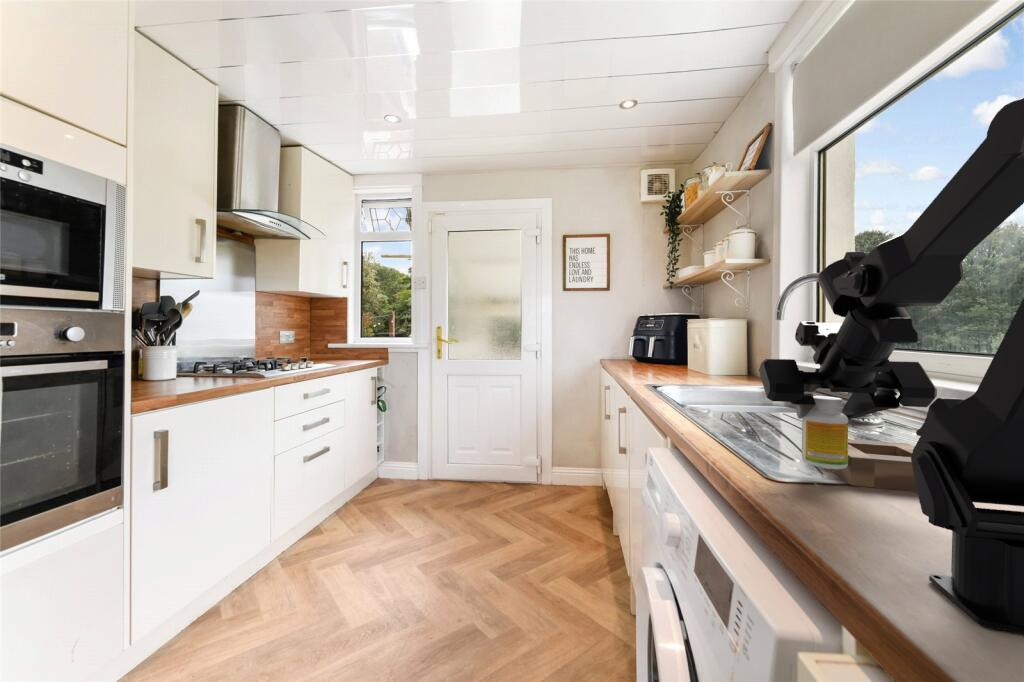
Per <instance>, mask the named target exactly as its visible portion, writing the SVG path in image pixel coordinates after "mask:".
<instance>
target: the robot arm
mask: <svg viewBox="0 0 1024 682" xmlns="http://www.w3.org/2000/svg"><path fill="white" fill-rule="evenodd" d="M1023 204H1024V97H1022V98H1020V99H1017V100H1016V99H1015V100H1013V101H1011V102H1009V103H1007V104H1005V105H1004V106H1003V107H1002V108H1000V109H999V110H998V111H997V112H996V114H995V115H994V117H993V118H992V120H991V121H990V124H989V126H988V129H987V131H986V137H985V138H984V140H983V141H982V142H981V143H980V144H979V146H978V147H977V148H976V149H975V151H974V152H973V153H972V154H971V155H970V157H968V159H967V160H965V162H964V163H963V165H962V166H961V167H960V168H959V169H958V171H956V173H955V174H954V175H953V177H952V178H951V179H950V180H949V181H948V182H947V183H946V185H945V186H944V187H943V188H942V189H941V190H940V192H939V193H938V194H937V195H936V197H934V199H933V200H932V201H931V202H930V204H928V206H927V207H926V208H925V209H924V210H923V212H922V213H921V215H919V216H918V218H917V219H916V220H915V221H914V222H913V223H912V225H911V226H910V227H909V228H908V229H907V230H906V231H905V232H903V233H901V234H899V235H897V236H895V237H892V238H889V239H888V240H885V241H883V242H881V243H879V244H878V245H876V246H875V247H874V248H873V249H872V250H871V251H870V252H868V254H866V252H865V251H846V252H845V254H844V257H843V258H842V259H841V258H840V259H839V260H836V261H833V262H832V263H830V264H828V265H827V266H826V267H825V268H824V269H823V270H821V271H820V272H819V275H818V278H817V281H818V285H819V286H820V288H821V290H822V292H823V295H824V297H825V298H826V300H827V303H828V305H829V307H830V309H831V310H832V313H833V314H834V315H836V316H838V317H841V318H844V319H843V321H842V322H815V321H813V320H809V321H808V320H801V321H799V323H798V326H797V327H796V329H795V335H794V338H795V341H796V342H797V343H798V345H800V346H801V347H811V348H812V350H813V351H814V354H813V356H812V359H813V361H814V364H815V365H819V368H815V369H814V371H804V370H801V369H799V366H798V364H797V361H796V359H793V358H790V359H789V358H764V360H763V361H762V362H760V366H759V368H758V371H759V375H760V378H761V382H762V386H763V390H764V392H765V396H766V397H765V398H767V399H768V400H769V401H771V402H784V403H785V402H786V403H787V402H788V403H790V404H792V405H793V406H795V409H796V410H795V411H796V412H795V413H796V416H797V418H798V419H800V420H802V418H803V417H805V416H806V415H807V414H808V413H809V411H810V410H811V409H812V408H813V407H814V406H815V405H816V403H815V400H814V398H813V396H814V393H815V392H816V391H817V390H818V391H830V392H831V393H851V394H850V397H849V398H848V400H846V402H845V404H844V406H842V409H841V411H840V412H841V413H843V414H844V415H846V416H847V418H848V421H850V420H851V421H852V420H853V419H857V418H860V417H864V416H867V415H871V414H874V413H879V412H883V411H887V410H897V409H898V408H900V406H902V407H909V408H913V407H915V408H928V411H927V413H926V417H925V419H924V422H923V424H922V425H921V427H920V428H918V429H917V430H916V432H915V434H916V436H919V438H918V440H917V441H916V445H914V446H915V447H914V449H913V452H912V456H911V461H912V466H913V472H914V477H915V482H916V487H917V497H918V502H919V504H920V508H921V509H920V510H921V512H922V514H923V515H925V516H927V517H928V523H929V524H931V525H932V526H935V527H938V528H941V529H945V530H948V531H949V530H950V531H952V533H951V534H952V535H951V536H952V537H951V565H950V566H951V567H950V568H951V569H950V572H951V576H950V575H941V574H936V573H929V574H928V581H929V582H931V584H933V585H934V586H935V587H936V588H938V589H939V591H941V592H942V593H943V594H944V595H946V597H948V598H949V599H950V600H951V601H952V602H953V603H954V604H956V605H957V606H958V607H959V608H960V609H961V610H963V612H964V613H966V614H967V615H968V616H969V617H971V619H972V620H974V621H975V622H977V624H979V625H981V626H983V627H985V628H990V629H995V630H1002V631H1006V632H1013V633H1018V634H1019V633H1020V634H1024V511H1018V510H1008V509H996V508H995V509H994V508H985V507H984V508H982V507H976V506H975V503H979V504H989V505H1000V506H1001V505H1003V506H1013V507H1014V506H1015V507H1024V297H1023V298H1022V301H1021V303H1020V304H1019V306H1018V309H1017V310H1016V313H1015V314H1014V316H1013V318H1012V320H1011V322H1010V325H1009V326H1008V328H1007V330H1006V332H1005V334H1004V336H1003V338H1002V340H1001V342H1000V344H999V346H998V347H997V349H996V352H995V354H994V355H993V358H992V360H991V362H990V364H989V366H988V368H987V370H986V372H985V373H984V376H983V378H982V379H981V381H980V383H979V385H978V387H977V389H976V391H975V392H974V393H973V394H972V395H970V396H968V397H966V398H955V397H953V398H951V397H949V398H948V397H938V389H937V387H936V386H935V384H934V382H933V381H932V380H931V378H930V377H929V375H928V374H927V371H926V370H925V369H924V367H923V365H922V364H921V363H920V362H919V361H912V360H911V361H908V360H906V361H905V360H899V361H898V360H890V359H889V358H890V357H891V355H892V354H893V352H894V351H895V349H896V347H897V346H898V344H917V343H918V341H919V334H918V331H917V330H916V328H915V326H914V325H913V319H912V317H911V316H910V314H909V313H908V311H907V310H906V309H905V308H933V307H936V306H938V305H939V304H941V303H943V301H944V300H945V299H946V298H947V297H948V296H949V294H951V293H952V292H953V290H954V289H955V288H956V287H957V286H958V285H959V283H960V282H962V281H961V280H963V278H964V273H963V271H964V270H963V261H964V260H965V259H966V258H967V256H968V255H969V254H970V253H971V252H972V251H973V250H974V249H975V248H977V246H978V245H980V243H982V242H983V241H984V240H985V239H986V238H988V237H989V235H991V233H993V232H994V231H995V230H996V229H997V228H999V226H1001V224H1003V223H1004V222H1005V221H1006V220H1008V218H1009V217H1010V216H1011V215H1013V214H1014V213H1015V212H1017V210H1018V209H1019V208H1020V207H1021V206H1023ZM898 393H899V395H898Z"/></svg>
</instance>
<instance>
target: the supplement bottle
mask: <svg viewBox="0 0 1024 682" xmlns="http://www.w3.org/2000/svg"><path fill="white" fill-rule="evenodd" d="M813 398H814V400H815V403H816V405H815V406H814V407H813V408H812V409H811V410H810V411H809V413H808V414H807V415H806V416H805V417H803V418H802V419H801V420H802V424H801V425H802V426H801V429H802V430H801V431H802V433H801V460H802V462H803V463H805V464H807V465H810V466H813V467H816V468H822V469H827V470H828V469H829V470H830V469H844V468H846V467H847V466H848V439H849V420H848V418H847V416H846V415H844V414H843V413H841V412H842V411H841V410H842V409H843V398H840V397H837V396H836V397H835V396H825V395H813Z"/></svg>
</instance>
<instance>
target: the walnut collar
mask: <svg viewBox="0 0 1024 682" xmlns="http://www.w3.org/2000/svg"><path fill="white" fill-rule="evenodd" d="M915 446H916V445H912V444H910V443H907V442H905V443H904V442H895V441H894V442H892V441H877V440H863V439H861V440H860V439H849V438H848V466H847V467H846V468H844V469H829V470H830V471H831V472H833V473H834V474H835V475H837V476H838V477H840V479H842V478H843V479H845V480H846V481H847V482H848V483H847V482H846V481H845V480H844V481H845V482H846V483H847V484H849V485H851V486H854V487H856V486H857V487H864V488H865V487H866V488H876V489H884V490H885V489H886V490H898V491H906V492H908V491H909V492H917V487H916V482H915V477H914V472H913V466H912V461H911V456H912V452H913V449H914V447H915ZM843 479H842V480H843ZM917 493H918V492H917Z"/></svg>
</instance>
